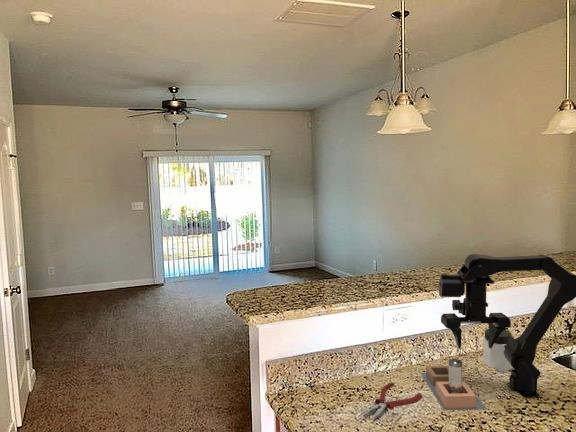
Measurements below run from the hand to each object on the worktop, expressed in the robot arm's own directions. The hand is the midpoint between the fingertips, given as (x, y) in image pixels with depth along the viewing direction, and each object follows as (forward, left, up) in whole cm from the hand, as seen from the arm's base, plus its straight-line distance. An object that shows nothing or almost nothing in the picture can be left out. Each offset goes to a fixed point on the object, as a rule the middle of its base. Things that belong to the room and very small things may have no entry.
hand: (474, 348), depth 132 cm
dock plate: (+7, +2, -13) cm, 15 cm away
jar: (-14, -15, -13) cm, 24 cm away
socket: (+8, +8, -12) cm, 17 cm away
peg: (+8, +8, -12) cm, 17 cm away
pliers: (+28, +7, -14) cm, 32 cm away
